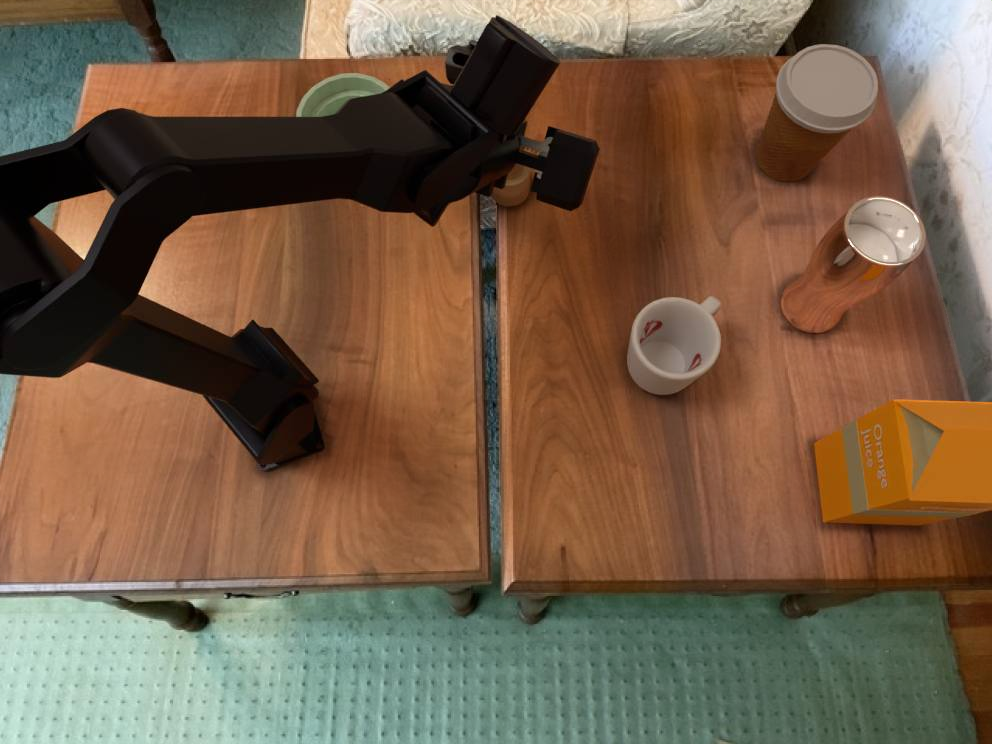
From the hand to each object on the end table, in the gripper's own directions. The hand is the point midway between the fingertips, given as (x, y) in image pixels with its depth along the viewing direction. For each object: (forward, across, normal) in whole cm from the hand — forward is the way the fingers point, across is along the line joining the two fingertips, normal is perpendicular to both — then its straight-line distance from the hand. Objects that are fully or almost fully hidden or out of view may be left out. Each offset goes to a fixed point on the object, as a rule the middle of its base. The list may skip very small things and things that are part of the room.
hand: (514, 137), depth 70 cm
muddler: (+4, 0, +6) cm, 7 cm away
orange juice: (-8, -43, +19) cm, 48 cm away
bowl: (+4, +18, +6) cm, 20 cm away
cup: (-5, -22, +15) cm, 27 cm away
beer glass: (+3, -34, +7) cm, 35 cm away
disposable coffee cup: (+15, -27, -4) cm, 31 cm away
